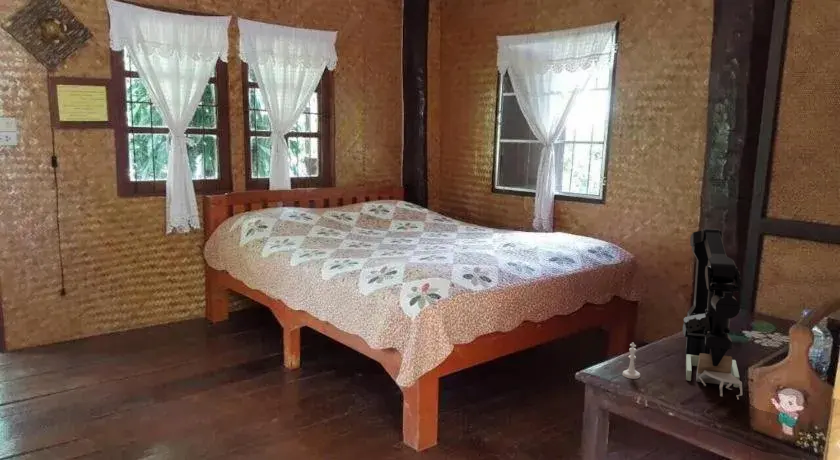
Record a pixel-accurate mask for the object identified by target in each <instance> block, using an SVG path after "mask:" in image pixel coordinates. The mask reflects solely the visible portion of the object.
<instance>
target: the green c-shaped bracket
mask: <svg viewBox="0 0 840 460" xmlns="http://www.w3.org/2000/svg"><path fill="white" fill-rule="evenodd" d="M698 361H699V356H698V355H690V354H686V355H685V380H686V381H689V382H691V380H692V373H693V372H692V367H693V366H694V367H698ZM730 374H732V375H733V376H734V377H735V378H737V379H738V380H740V373H739V369H738V365H737V361H736V359H732V366H731V371H730ZM732 385H733V387H734V388H740V387H739V384H735V383H733V384H732Z"/></svg>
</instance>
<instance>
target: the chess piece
mask: <svg viewBox="0 0 840 460" xmlns="http://www.w3.org/2000/svg"><path fill="white" fill-rule="evenodd" d="M629 346H630V348H629V349H628V350H629V354H630V355H628V358H629V359H630V360H629V365H628V368H627V369H625V370H623V371H622V376H623V377H624V378H626V379H627V378H628V379H634V380H635V379H640V378H641V373H640V372H639V371H637V370H636V368H635V359H637V357H636V355H635V354H636V353H637V349H636V347H637V344H635V343H634V342H631V343H630V344H629Z"/></svg>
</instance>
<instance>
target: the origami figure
mask: <svg viewBox="0 0 840 460" xmlns="http://www.w3.org/2000/svg"><path fill="white" fill-rule="evenodd" d="M705 374H706V375H708V376H710V377H712V378H715V379H717V380H720V381H721V383H720V384H719V387H718V388H719V396H720V397H723V387H724V385H723V383H724V382H728V385H725V388H726V389H727V390H731V391H732V390H733V388H730V387H731V386H732V385H733V383H735V384H739V387H738V388H739V390H740V391H739V394H736V398H737V399H736V400H740V398H739V397H740V396H743V382H742V381H741V380H740V379H739V380H738V379H737V378H735V377H734V376H733V375H732V374H731V372H730V373H721V372H712V371H704V372H703V373H702V374H700V375H699V376H698V377H699V379H700V380H701V381H702V382H701V383H702V384H703V387H707V384H706V383H705V382H704V381H703V380H702V378H701V376H703V375H705Z"/></svg>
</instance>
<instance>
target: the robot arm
mask: <svg viewBox="0 0 840 460" xmlns="http://www.w3.org/2000/svg"><path fill="white" fill-rule="evenodd" d="M689 244H690V247H691V252H692V253H693V255H694V256H695V259H696V266H695V277H694V278H695V279H694V280H695V281H694V295H693V304H692V306H691V307H690V308H689V310H688V311H687V315H686V316H684V317H683V325H682V334H683V336H684V337H685V338H686V345H685V356H686V354H690V355H698V356H699V355H700V353H704V354H711V355H712V363H713V366H718V364H719V363H720V361H721V360H722V358H723V356H726V353H727V352H728V350H732V347H733V341H732V337H731V336H730V335H729V334H730V321H731V319H733V318H735V317H736V316H737V315H739V313H740V312H741V305H740V303H739V301H738V300H737V299H736V297H735V295H734V292H739V293H740V292H741V288H742V286H743V285H742V279H741V271H739V268H738V267H737V265H736V262H735V261H734V259H733V258H731V257H729V256H727V253H726V249H725V246H724V233H723V232H722V229H719V228H702V229H701V230H698V231H694V232H692V233H691V234H690V239H689Z"/></svg>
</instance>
